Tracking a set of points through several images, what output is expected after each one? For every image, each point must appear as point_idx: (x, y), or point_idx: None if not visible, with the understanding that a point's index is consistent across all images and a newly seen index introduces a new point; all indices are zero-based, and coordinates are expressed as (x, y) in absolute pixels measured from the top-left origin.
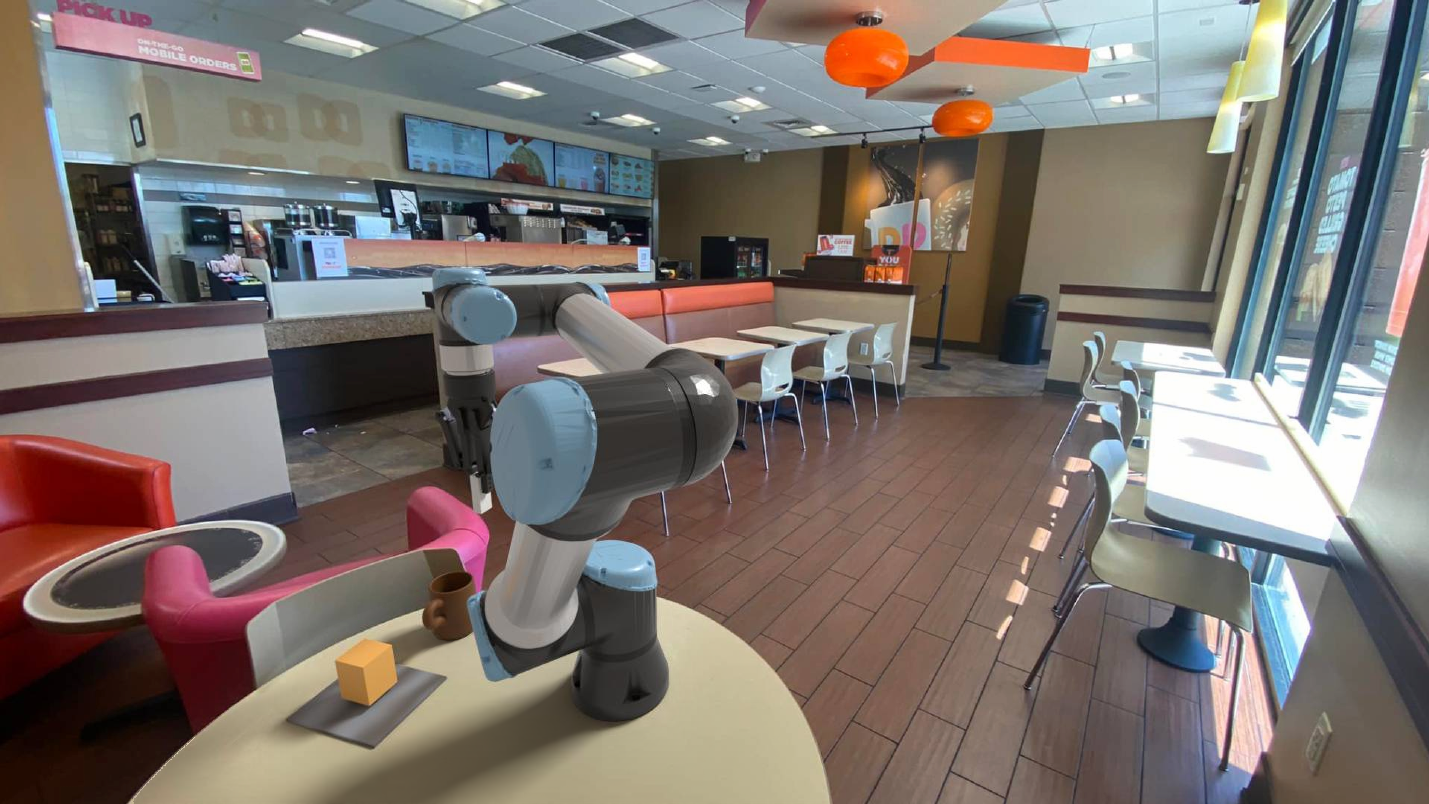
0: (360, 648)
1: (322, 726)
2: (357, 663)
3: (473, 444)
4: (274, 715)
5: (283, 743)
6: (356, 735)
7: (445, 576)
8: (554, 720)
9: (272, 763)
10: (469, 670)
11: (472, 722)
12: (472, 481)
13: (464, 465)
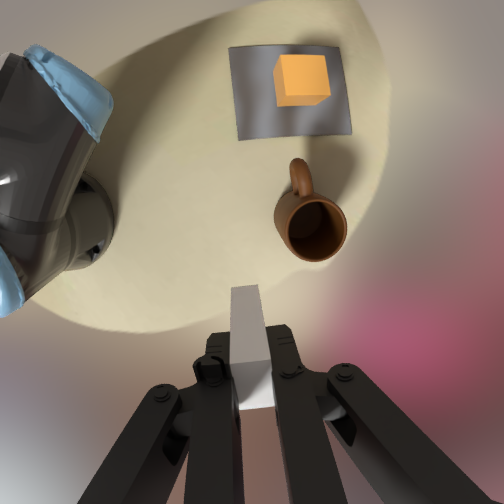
0: (316, 78)
1: (297, 47)
2: (293, 57)
3: (289, 495)
4: (354, 51)
5: (313, 30)
6: (255, 49)
7: (340, 242)
8: (96, 151)
9: (299, 15)
10: (225, 161)
11: (163, 108)
12: (257, 345)
13: (306, 388)
